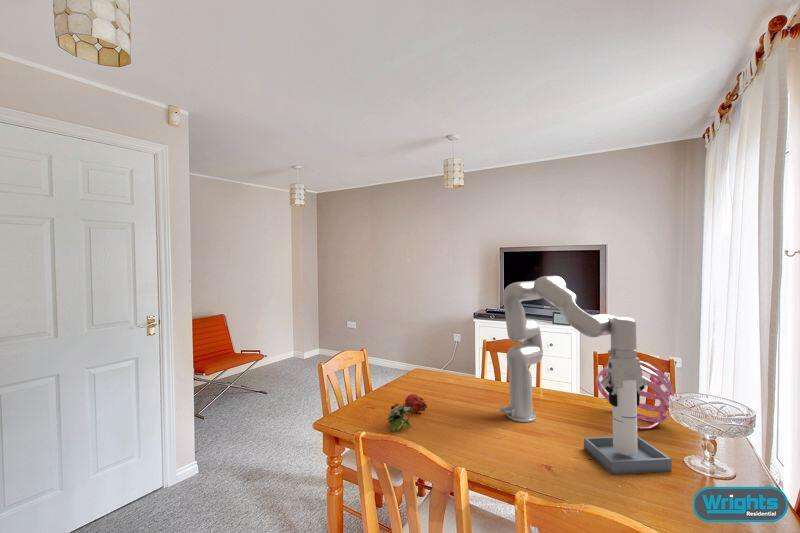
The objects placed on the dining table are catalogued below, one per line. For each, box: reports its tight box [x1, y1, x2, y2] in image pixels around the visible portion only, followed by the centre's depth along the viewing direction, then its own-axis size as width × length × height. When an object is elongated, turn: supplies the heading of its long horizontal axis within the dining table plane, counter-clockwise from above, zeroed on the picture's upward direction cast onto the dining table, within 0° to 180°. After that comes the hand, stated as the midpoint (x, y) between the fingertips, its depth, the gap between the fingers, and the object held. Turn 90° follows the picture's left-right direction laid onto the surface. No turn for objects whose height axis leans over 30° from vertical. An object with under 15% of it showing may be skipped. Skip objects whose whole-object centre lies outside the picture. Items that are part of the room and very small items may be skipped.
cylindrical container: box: [611, 380, 638, 455], centre depth 124 cm, size 7×7×25 cm
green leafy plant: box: [386, 403, 413, 433], centre depth 152 cm, size 11×11×12 cm
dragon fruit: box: [403, 393, 428, 415], centre depth 168 cm, size 8×8×12 cm
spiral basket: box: [596, 359, 675, 430], centre depth 152 cm, size 28×28×27 cm
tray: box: [583, 435, 673, 475], centre depth 124 cm, size 20×16×4 cm
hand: (624, 404), depth 124 cm, fingers closed on cylindrical container, 7 cm apart
